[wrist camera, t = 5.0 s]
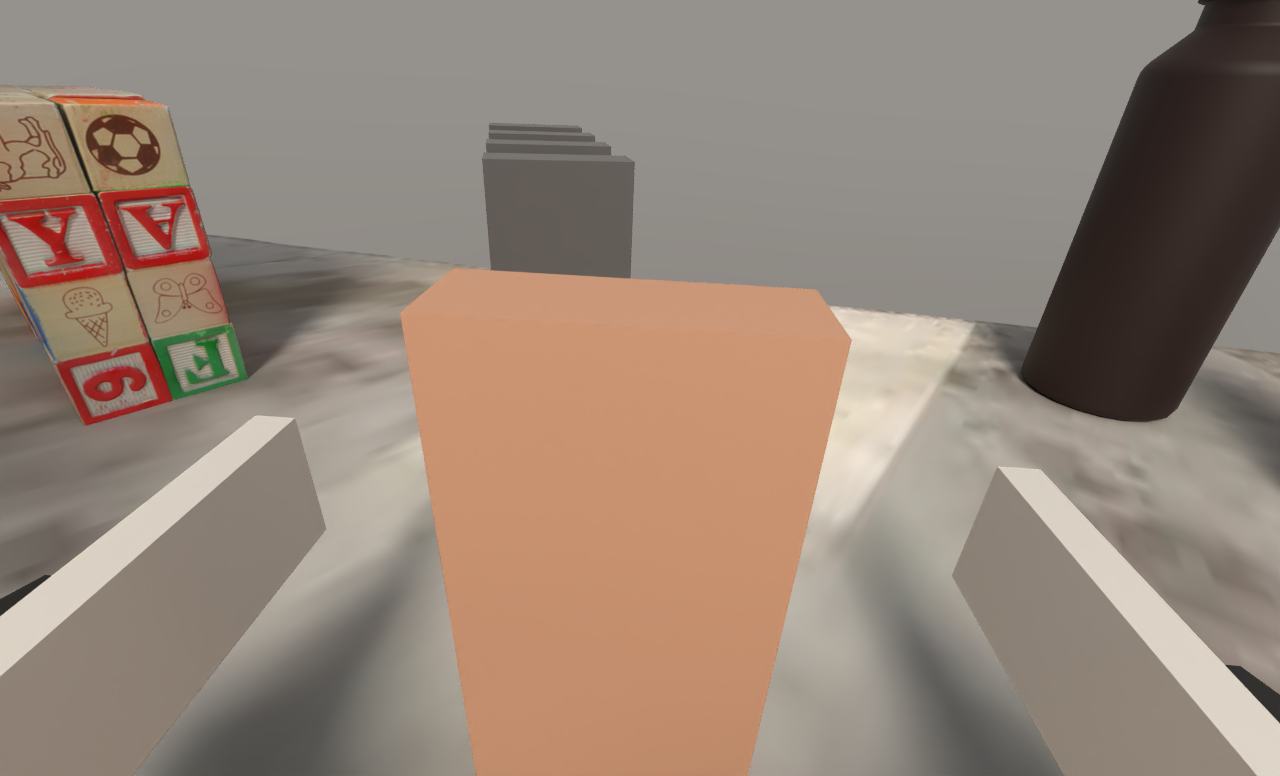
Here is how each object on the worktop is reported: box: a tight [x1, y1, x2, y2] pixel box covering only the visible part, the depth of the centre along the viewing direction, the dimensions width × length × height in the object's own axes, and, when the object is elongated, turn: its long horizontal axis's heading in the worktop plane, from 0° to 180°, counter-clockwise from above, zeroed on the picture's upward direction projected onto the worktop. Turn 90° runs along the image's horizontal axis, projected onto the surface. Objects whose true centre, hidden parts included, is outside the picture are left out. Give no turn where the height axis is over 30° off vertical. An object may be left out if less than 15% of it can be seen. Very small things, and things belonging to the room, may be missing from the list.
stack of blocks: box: [0, 85, 248, 425], centre depth 29 cm, size 21×6×12 cm, turn 49°
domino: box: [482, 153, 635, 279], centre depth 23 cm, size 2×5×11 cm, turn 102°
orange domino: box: [400, 268, 851, 776], centre depth 10 cm, size 2×5×11 cm, turn 87°
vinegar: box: [1022, 0, 1280, 422], centre depth 26 cm, size 7×7×20 cm
